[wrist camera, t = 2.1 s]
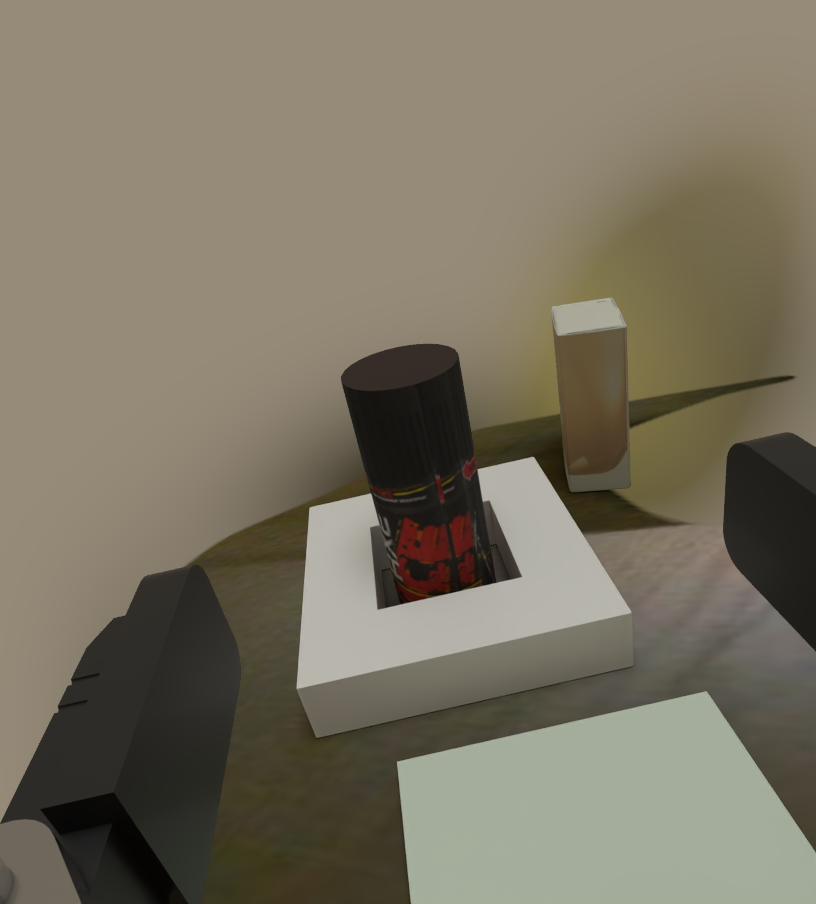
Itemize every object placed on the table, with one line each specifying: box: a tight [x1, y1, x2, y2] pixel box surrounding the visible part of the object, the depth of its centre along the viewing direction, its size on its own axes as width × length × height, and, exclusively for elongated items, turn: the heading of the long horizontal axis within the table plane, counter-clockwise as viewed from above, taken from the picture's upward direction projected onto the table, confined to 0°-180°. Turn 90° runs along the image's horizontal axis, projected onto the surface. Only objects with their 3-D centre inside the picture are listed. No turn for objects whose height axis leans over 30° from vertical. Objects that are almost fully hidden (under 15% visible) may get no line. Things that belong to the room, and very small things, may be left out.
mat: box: [397, 691, 816, 904], centre depth 23 cm, size 14×10×1 cm
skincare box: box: [552, 298, 631, 492], centre depth 43 cm, size 6×4×12 cm
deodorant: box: [341, 344, 496, 604], centre depth 34 cm, size 6×6×15 cm
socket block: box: [297, 457, 634, 738], centre depth 36 cm, size 16×16×4 cm
